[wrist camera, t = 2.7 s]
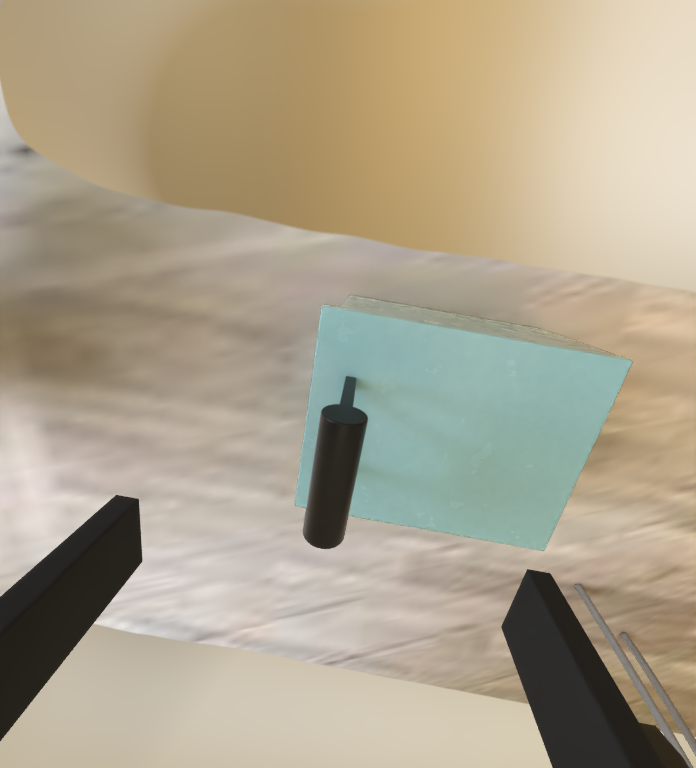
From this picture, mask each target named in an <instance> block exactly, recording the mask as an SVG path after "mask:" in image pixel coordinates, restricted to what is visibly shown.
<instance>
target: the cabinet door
mask: <svg viewBox="0 0 696 768" xmlns="http://www.w3.org/2000/svg"><path fill="white" fill-rule="evenodd" d="M632 363H633V361H632V360H630V359H627V358H624V357H619V356H613V355H607V354H602V353H596V352H590V351H585V350H579V349H574V348H568V347H562V346H557V345H551V344H545V343H540V342H534V341H528V340H523V339H517V338H511V337H506V336H500V335H494V334H489V333H483V332H477V331H472V330H466V329H460V328H455V327H449V326H444V325H438V324H432V323H427V322H421V321H415V320H410V319H404V318H398V317H393V316H387V315H381V314H376V313H370V312H364V311H359V310H353V309H347V308H342V307H336V306H331V305H325V304H324V305H322V307H321V314H320V321H319V329H318V336H317V343H316V351H315V358H314V365H313V373H312V380H311V387H310V395H309V402H308V409H307V417H306V424H305V431H304V439H303V446H302V453H301V460H300V468H299V475H298V482H297V490H296V497H295V506H298V507H303V508H306V513H305V520H304V527H303V535H304V537H305V539H306V540H307V542H308V543H310V544H311V545H312V546H314V547H317V548H320V549H331V548H334V547H336V546H338V545H339V544H340V543H341V542H342V541H343V539H344V535H345V530H346V525H347V520H348V516H353V517H359V518H364V519H370V520H375V521H381V522H386V523H392V524H397V525H403V526H408V527H414V528H419V529H425V530H431V531H436V532H442V533H447V534H453V535H458V536H464V537H469V538H475V539H480V540H486V541H491V542H497V543H502V544H508V545H513V546H519V547H525V548H530V549H536V550H541V551H544V550H545V548H546V546H547V544H548V541H549V539H550V537H551V535H552V533H553V531H554V529H555V527H556V524H557V522H558V520H559V518H560V516H561V514H562V512H563V510H564V507H565V505H566V503H567V501H568V499H569V497H570V495H571V492H572V490H573V488H574V486H575V484H576V482H577V480H578V478H579V475H580V473H581V471H582V469H583V467H584V465H585V463H586V461H587V458H588V456H589V454H590V452H591V450H592V448H593V446H594V444H595V441H596V439H597V437H598V435H599V433H600V431H601V429H602V427H603V424H604V422H605V420H606V418H607V416H608V414H609V412H610V409H611V407H612V405H613V403H614V401H615V399H616V397H617V395H618V392H619V390H620V388H621V386H622V384H623V382H624V380H625V378H626V375H627V373H628V371H629V369H630V367H631V365H632Z"/></svg>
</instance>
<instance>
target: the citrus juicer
mask: <svg viewBox="0 0 696 768" xmlns="http://www.w3.org/2000/svg"><path fill="white" fill-rule="evenodd" d="M575 588H576V590H577V592H578V593H579V595H580V596H581V598H582V600H583V601H584V603H585V604H586V606H587V608H588V609H589V611H590V612H591V614H592V616H593V617H594V619H595V621H596V622H597V624H598V625H599V627H600V629H601V630H602V632H603V634H604V635H605V637H606V639H607V640H608V642H609V643H610V645H611V647H612V648H613V650H614V652H615V653H616V655H617V657H618V658H619V660H620V661H621V663H622V665H623V666H624V668H625V670H626V671H627V673H628V675H629V676H630V678H631V680H632V681H633V683H634V685H635V686H636V688H637V690H638V691H639V693H640V695H641V696H642V698H643V700H644V702H645V703H646V705H647V707H648V708H649V710H650V712H651V713H652V715H653V717H654V718H655V720H656V722H657V724H658V725H659V727H660V729H661V730H662V732H663V734H664V736H665V737H666V739H667V740H668V741H669V742H670V743H671V744H672V745H673V747H674V748H675V749H676V750H677V751H678V752H679V753H680V754H681V756H682V757H683V758H684V760H685V761H686V763H687V764H688V766H689V767H690V768H693V766H692V765H691V763H690V761H689V759H688V758H687V756H686V754H685V752H684V751H683V749H682V747H681V746H680V744H679V742H678V741H677V739H676V737H675V736H674V734H673V732H672V731H671V729H670V727H669V726H668V724H667V722H666V721H665V719H664V717H663V716H662V714H661V712H660V711H659V709H658V707H657V706H656V704H655V702H654V701H653V699H652V697H651V696H650V694H649V692H648V691H647V689H646V687H645V686H644V684H643V683H642V681H641V679H640V678H639V676H638V674H637V673H636V671H635V669H634V668H633V666H632V665H631V663H630V661H629V660H628V658H627V656H626V655H625V653H624V652H623V650H622V648H621V647H620V645H619V644H618V642H617V640H616V639H615V637H614V635H613V634H612V632H611V631H610V629H609V627H608V626H607V624H606V623H605V621H604V620H603V618H602V616H601V615H600V613H599V612H598V610H597V608H596V607H595V605H594V604H593V602H592V601H591V599H590V598H589V596H588V595H587V593H586V592H585V590H584V588H583V587H582V585H580V584H577V585H575ZM621 637H622V638H623V640H624V641H625V643H626V644H627V646H628V647H629V649H630V650H631V652H632V653H633V655H634V656H635V658H636V659H637V661H638V663H639V664H640V666H641V667H642V669H643V670H644V672H645V673H646V675H647V677H648V678H649V680H650V681H651V683H652V685H653V686H654V688H655V689H656V691H657V693H658V694H659V696H660V697H661V699H662V701H663V702H664V704H665V706H666V707H667V709H668V710H669V712H670V714H671V715H672V717H673V719H674V720H675V722H676V724H677V725H678V727H679V729H680V730H681V732H682V734H683V735H684V737H685V739H686V740H687V742H688V744H689V745H690V747H691V749H692V750H693V752H694V754H695V756H696V739H695V738H694V736H693V735H692V733H691V731H690V730H689V728H688V726H687V725H686V723H685V722H684V720H683V718H682V717H681V715H680V714H679V712H678V710H677V709H676V707H675V706H674V704H673V702H672V701H671V699H670V698H669V696H668V695H667V693H666V691H665V690H664V688H663V687H662V685H661V684H660V682H659V680H658V679H657V677H656V676H655V674H654V673H653V671H652V670H651V668H650V667H649V665H648V664H647V662H646V661H645V659H644V658H643V656H642V655H641V653H640V652H639V650H638V649H637V647H636V646H635V644H634V643H633V642H632V640H631V639H630V637H629V636H628V635H627V633H622V634H621Z"/></svg>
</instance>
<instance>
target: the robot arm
mask: <svg viewBox="0 0 696 768" xmlns="http://www.w3.org/2000/svg"><path fill="white" fill-rule="evenodd" d="M141 562H142V547H141V530H140V513H139V499H135V498H130V497H124V496H119V495H116V496H115V497H114V498H112V499H111V500H110V501H109V502H108V503H107V504H106V505H104V506H103V507H102V508H101V509H100V510H99V511H98V512H96V513H95V514H94V515H93V516H92V517H91V518H90V519H88V520H87V521H86V522H85V523H84V524H83V525H82V526H81V527H79V528H78V529H77V530H76V531H75V532H74V533H73V534H71V535H70V536H69V537H68V538H67V539H66V540H65V541H63V542H62V543H61V544H60V545H59V546H58V547H57V548H55V549H54V550H53V551H52V552H51V553H50V554H49V555H47V556H46V557H45V558H44V559H43V560H42V561H41V562H39V563H38V564H37V565H36V566H35V567H34V568H33V569H32V570H30V571H29V572H28V573H27V574H26V575H25V576H24V577H22V578H21V579H20V580H19V581H18V582H17V583H16V584H14V585H13V586H12V587H11V588H10V589H9V590H8V591H6V592H5V593H4V594H3V595H2V596H1V597H0V741H1V740H2V738H3V737H4V736H5V735H6V733H7V732H8V731H9V730H10V728H11V727H12V726H13V724H14V723H15V722H16V721H17V719H18V718H19V717H20V715H21V714H22V713H23V712H24V711H25V709H26V708H27V707H28V705H29V704H30V703H31V702H32V700H33V699H34V698H35V697H36V695H37V694H38V693H39V692H40V690H41V689H42V688H43V686H44V685H45V684H46V683H47V681H48V680H49V679H50V677H51V676H52V675H53V674H54V673H55V671H56V670H57V669H58V667H59V666H60V665H61V664H62V662H63V661H64V660H65V659H66V657H67V656H68V655H69V654H70V652H71V651H72V650H73V648H74V647H75V646H76V645H77V643H78V642H79V641H80V640H81V638H82V637H83V636H84V635H85V633H86V632H87V631H88V629H89V628H90V627H91V626H92V624H93V623H94V622H95V621H96V619H97V618H98V617H99V616H100V614H101V613H102V612H103V611H104V609H105V608H106V607H107V605H108V604H109V603H110V602H111V600H112V599H113V598H114V597H115V595H116V594H117V593H118V592H119V590H120V589H121V588H122V586H123V585H124V584H125V583H126V581H127V580H128V579H129V578H130V576H131V575H132V574H133V573H134V571H135V570H136V569H137V567H138V566H139V565H140V564H141ZM502 630H503V633H504V636H505V638H506V641H507V644H508V647H509V649H510V652H511V655H512V658H513V660H514V663H515V666H516V668H517V671H518V674H519V677H520V679H521V682H522V685H523V688H524V690H525V693H526V696H527V699H528V701H529V704H530V707H531V710H532V712H533V715H534V718H535V720H536V723H537V726H538V729H539V731H540V734H541V737H542V740H543V742H544V745H545V748H546V751H547V753H548V756H549V759H550V762H551V764H552V767H553V768H690V767H689V766H688V764H687V763H686V761H685V760H684V758H683V757H682V756H681V754H680V753H679V752H678V751H677V750H676V749H675V748H674V747H673V745H672V744H671V743H670V742H669V741H668V740H667V739H666V737H665V736H664V735H663V734H662V733H661V732H660V731H659V729H658V728H657V727H656V726H654V725H648V724H643V723H639V722H638V721H637V719H636V717H635V716H634V714H633V712H632V711H631V709H630V707H629V705H628V704H627V702H626V700H625V699H624V697H623V695H622V694H621V692H620V690H619V689H618V687H617V685H616V684H615V682H614V680H613V678H612V677H611V675H610V673H609V672H608V670H607V668H606V667H605V665H604V663H603V662H602V660H601V658H600V656H599V655H598V653H597V651H596V650H595V648H594V646H593V645H592V643H591V641H590V640H589V638H588V636H587V635H586V633H585V631H584V629H583V628H582V626H581V624H580V623H579V621H578V619H577V618H576V616H575V614H574V613H573V611H572V609H571V608H570V606H569V604H568V602H567V601H566V599H565V597H564V596H563V594H562V592H561V591H560V589H559V587H558V586H557V584H556V582H555V580H554V579H553V577H552V575H551V574H550V573H545V572H539V571H534V570H528V569H527V571H526V573H525V576H524V578H523V580H522V582H521V585H520V587H519V589H518V591H517V593H516V596H515V598H514V600H513V602H512V604H511V607H510V609H509V611H508V613H507V615H506V618H505V620H504V622H503V624H502Z"/></svg>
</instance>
